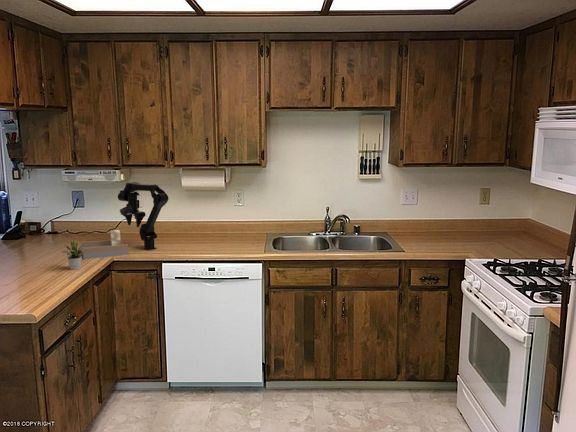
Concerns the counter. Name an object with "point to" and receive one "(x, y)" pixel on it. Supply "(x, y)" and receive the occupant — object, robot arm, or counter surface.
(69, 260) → the house plant
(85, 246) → the channel
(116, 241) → the block
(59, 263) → the counter surface
